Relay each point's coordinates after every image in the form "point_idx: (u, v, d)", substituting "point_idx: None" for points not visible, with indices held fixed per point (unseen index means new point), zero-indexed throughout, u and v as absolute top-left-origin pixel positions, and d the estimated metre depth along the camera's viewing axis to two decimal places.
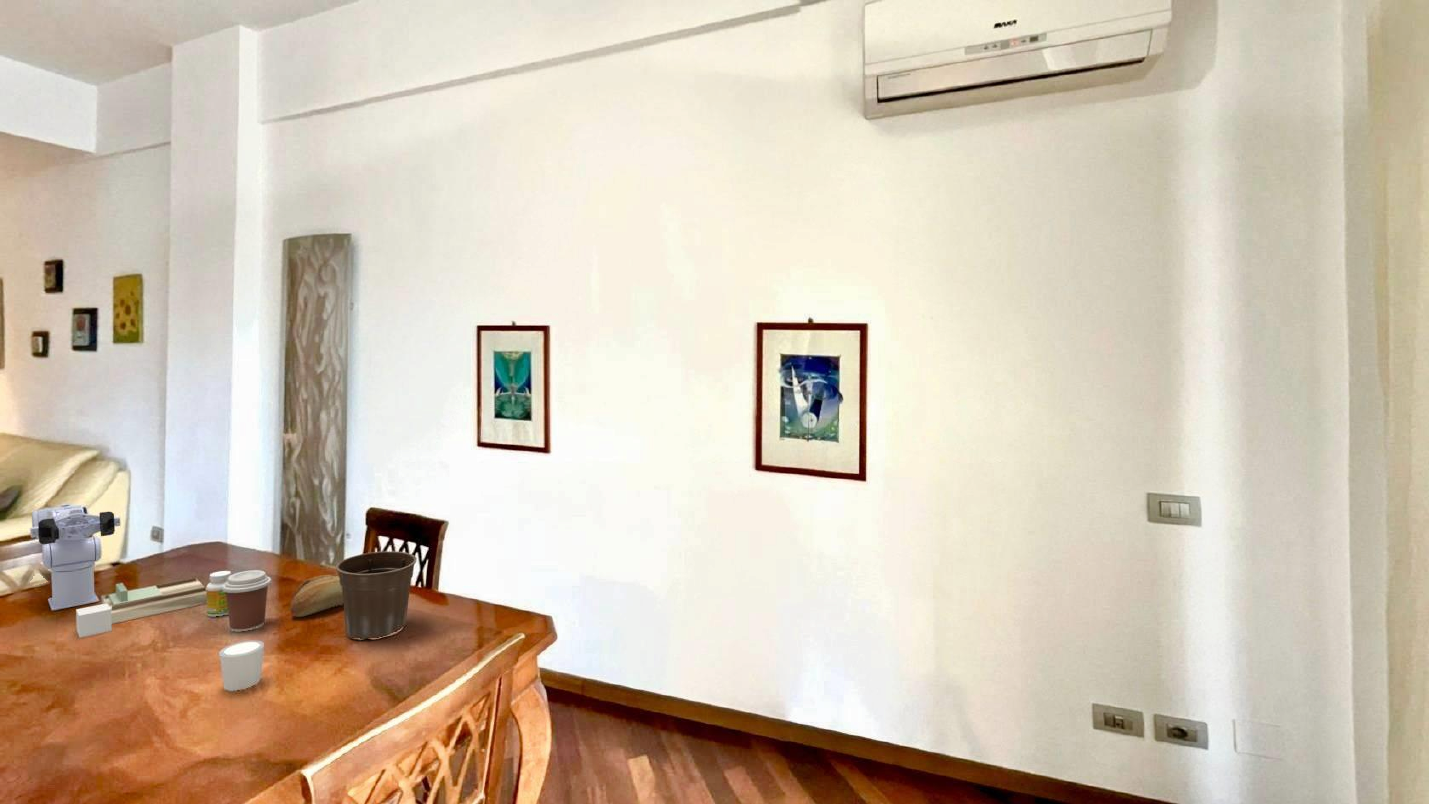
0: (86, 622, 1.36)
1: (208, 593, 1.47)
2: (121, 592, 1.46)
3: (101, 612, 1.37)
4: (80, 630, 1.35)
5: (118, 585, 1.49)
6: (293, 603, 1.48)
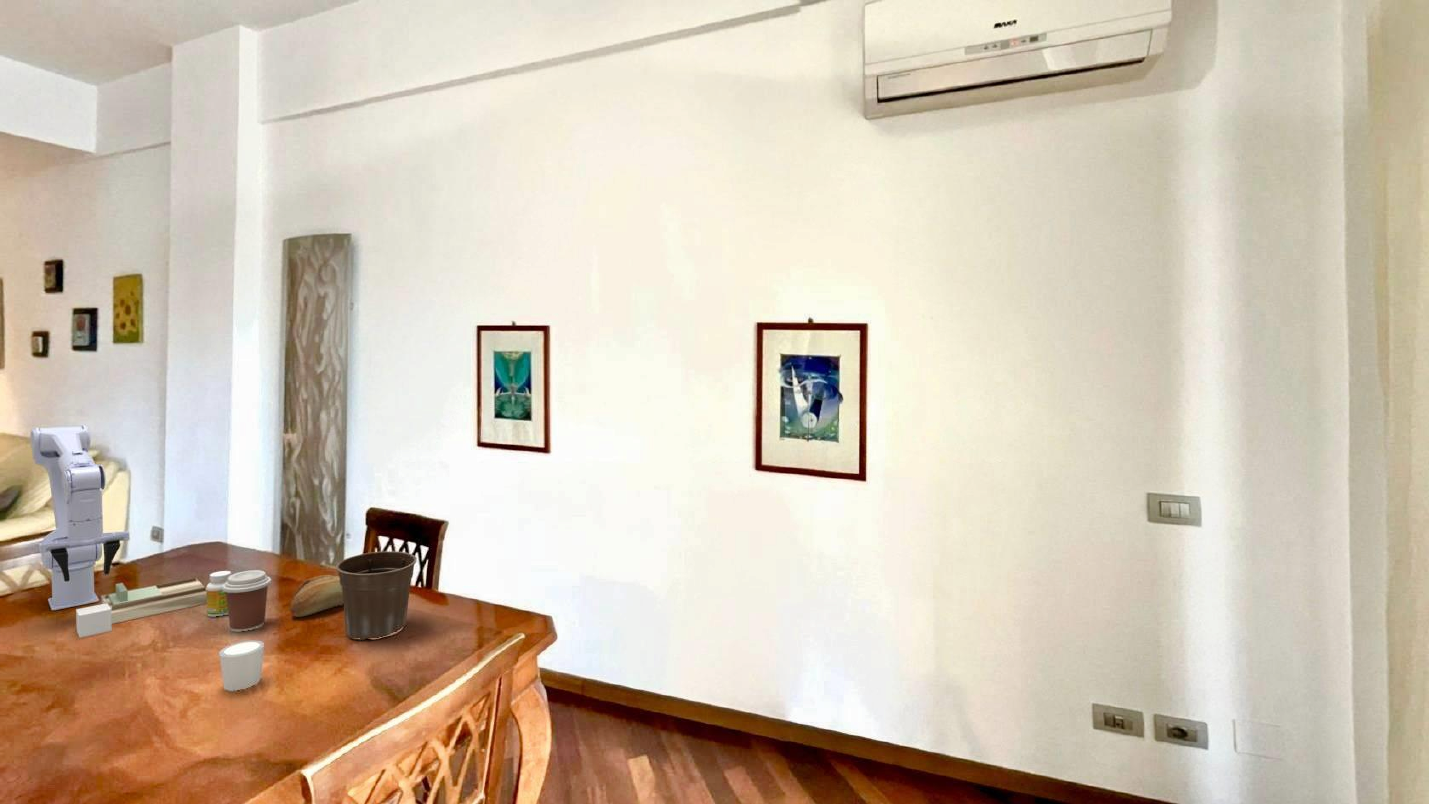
0: (86, 622, 1.36)
1: (208, 593, 1.47)
2: (121, 592, 1.46)
3: (101, 612, 1.37)
4: (80, 630, 1.35)
5: (118, 585, 1.49)
6: (293, 603, 1.48)
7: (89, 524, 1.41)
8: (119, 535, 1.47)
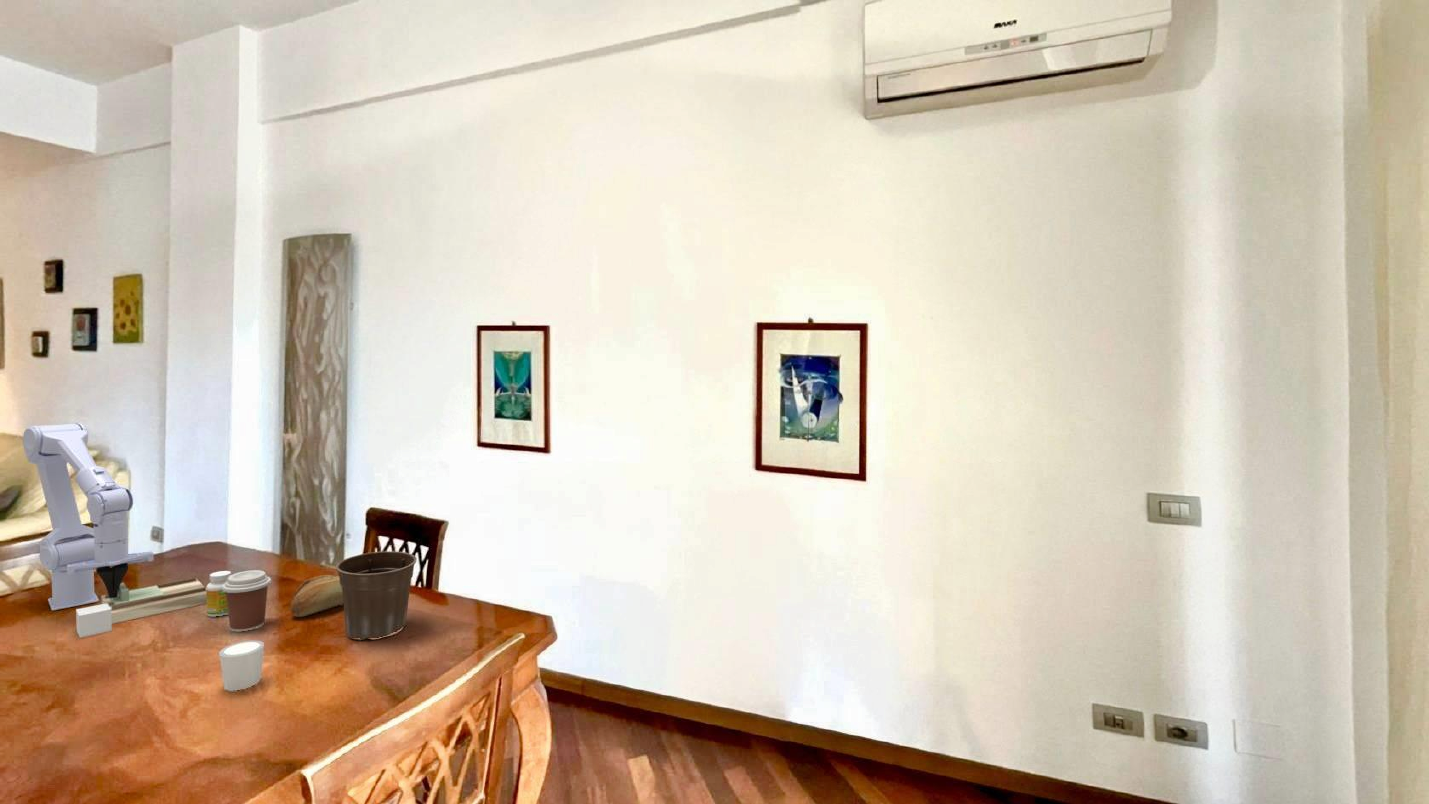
0: (87, 622, 1.36)
1: (208, 593, 1.47)
2: (122, 592, 1.46)
3: (101, 612, 1.37)
4: (80, 630, 1.35)
5: None
6: (293, 603, 1.48)
7: (115, 546, 1.45)
8: (144, 555, 1.50)
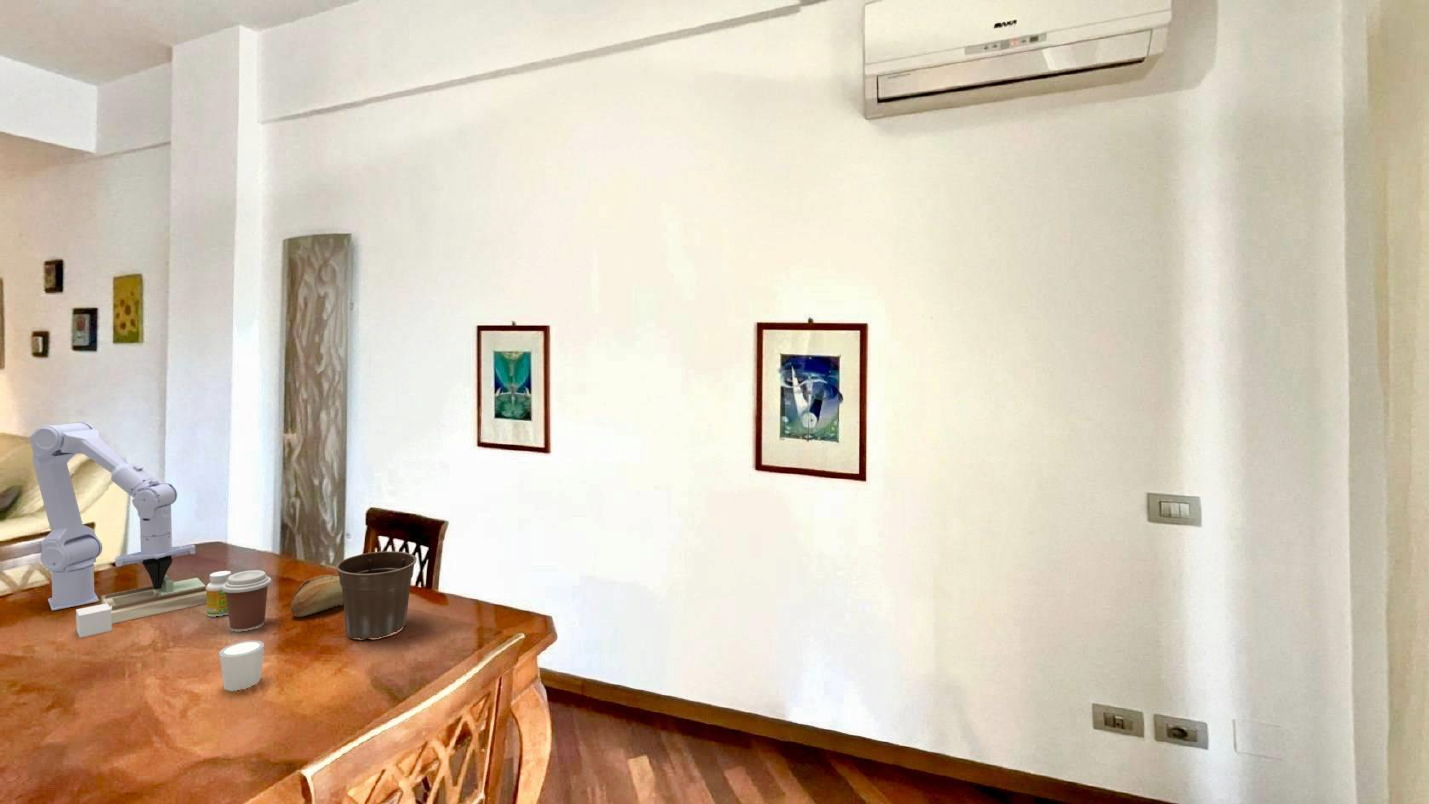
0: (86, 622, 1.36)
1: (208, 593, 1.47)
2: (167, 583, 1.52)
3: (101, 612, 1.37)
4: (80, 630, 1.35)
5: None
6: (293, 603, 1.48)
7: (160, 539, 1.51)
8: (186, 548, 1.56)
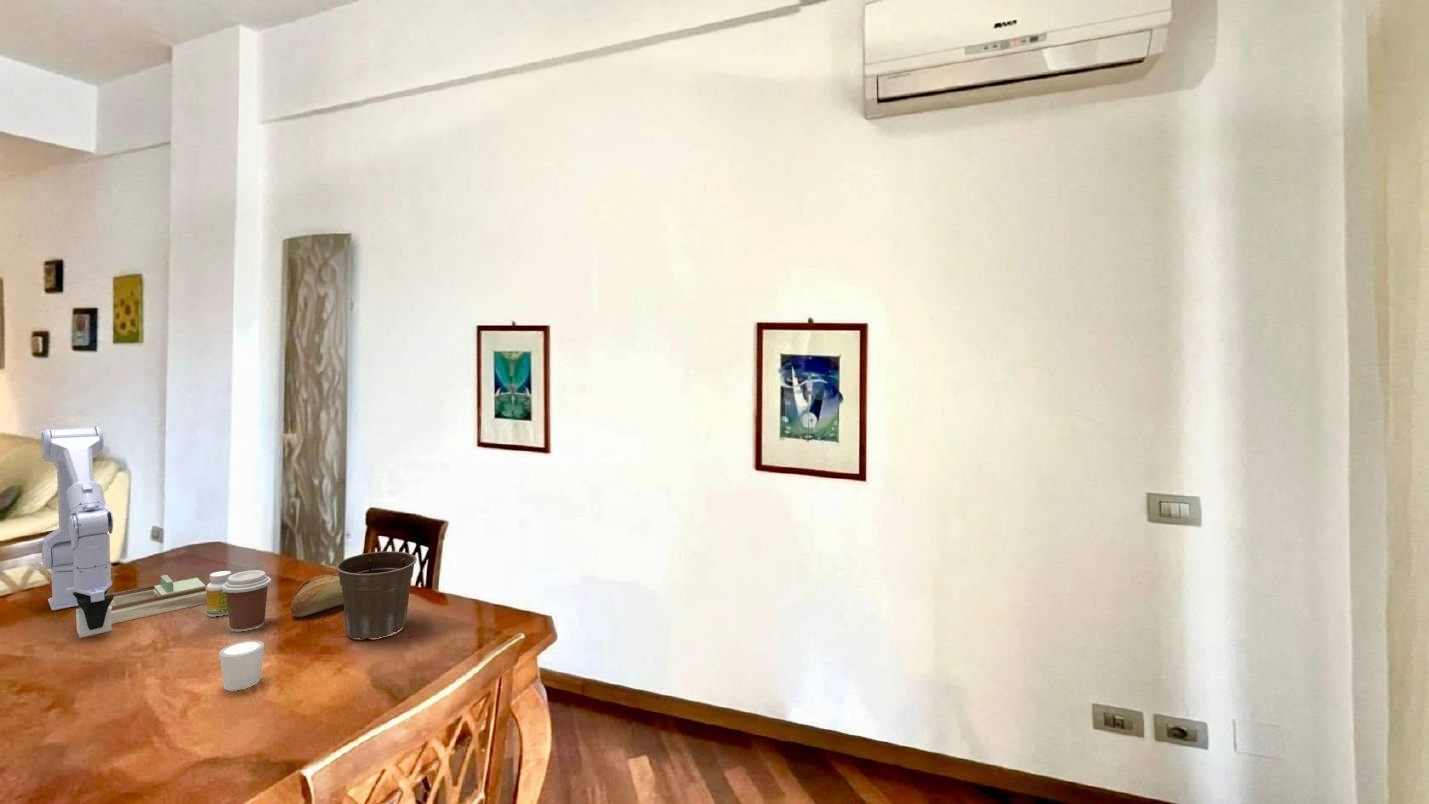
0: (86, 622, 1.36)
1: (208, 593, 1.47)
2: (167, 583, 1.52)
3: None
4: (80, 630, 1.35)
5: (163, 577, 1.56)
6: (293, 603, 1.48)
7: (74, 571, 1.35)
8: (88, 593, 1.33)
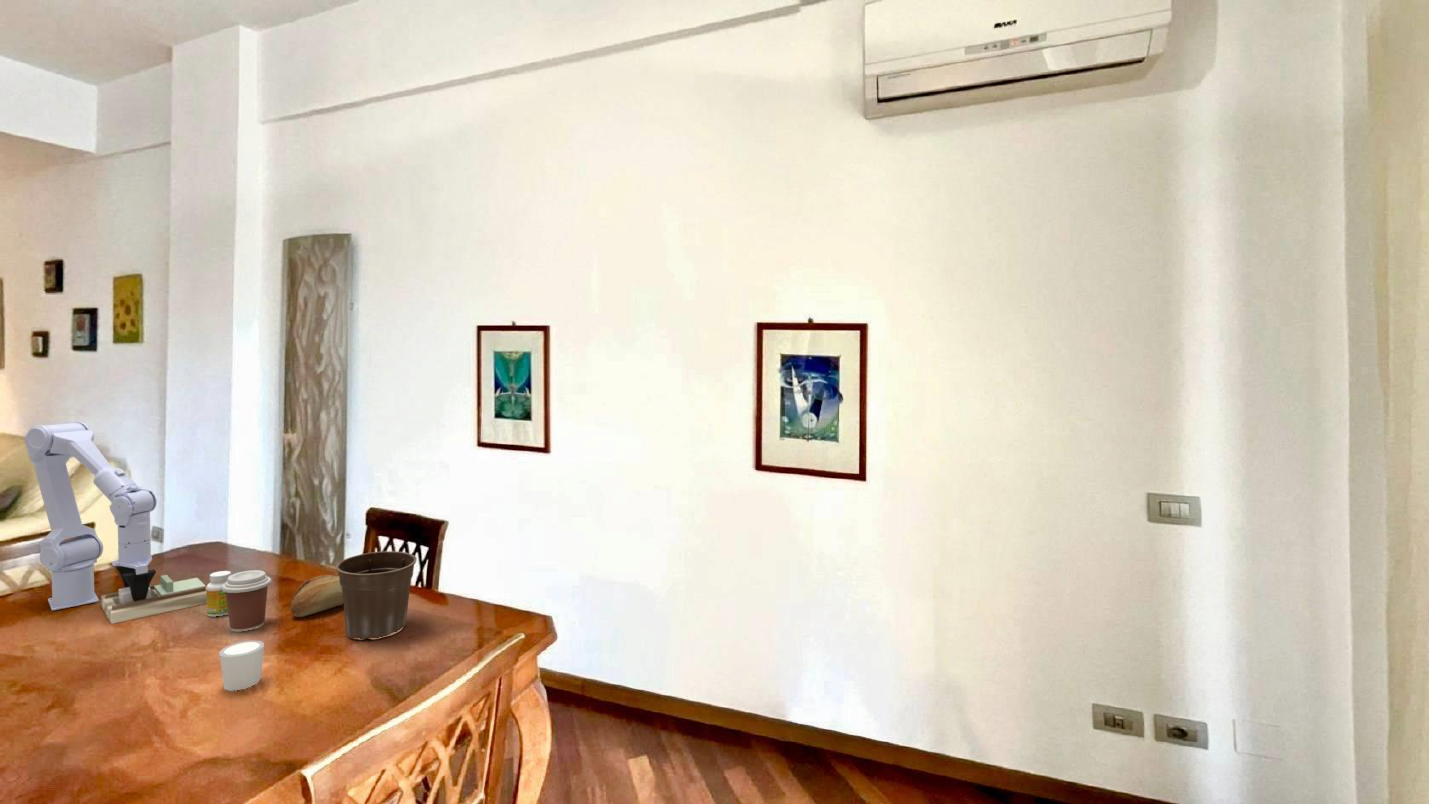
0: (129, 600, 1.48)
1: (208, 593, 1.47)
2: (167, 583, 1.52)
3: None
4: None
5: (163, 577, 1.56)
6: (293, 603, 1.48)
7: (119, 547, 1.47)
8: (133, 566, 1.46)
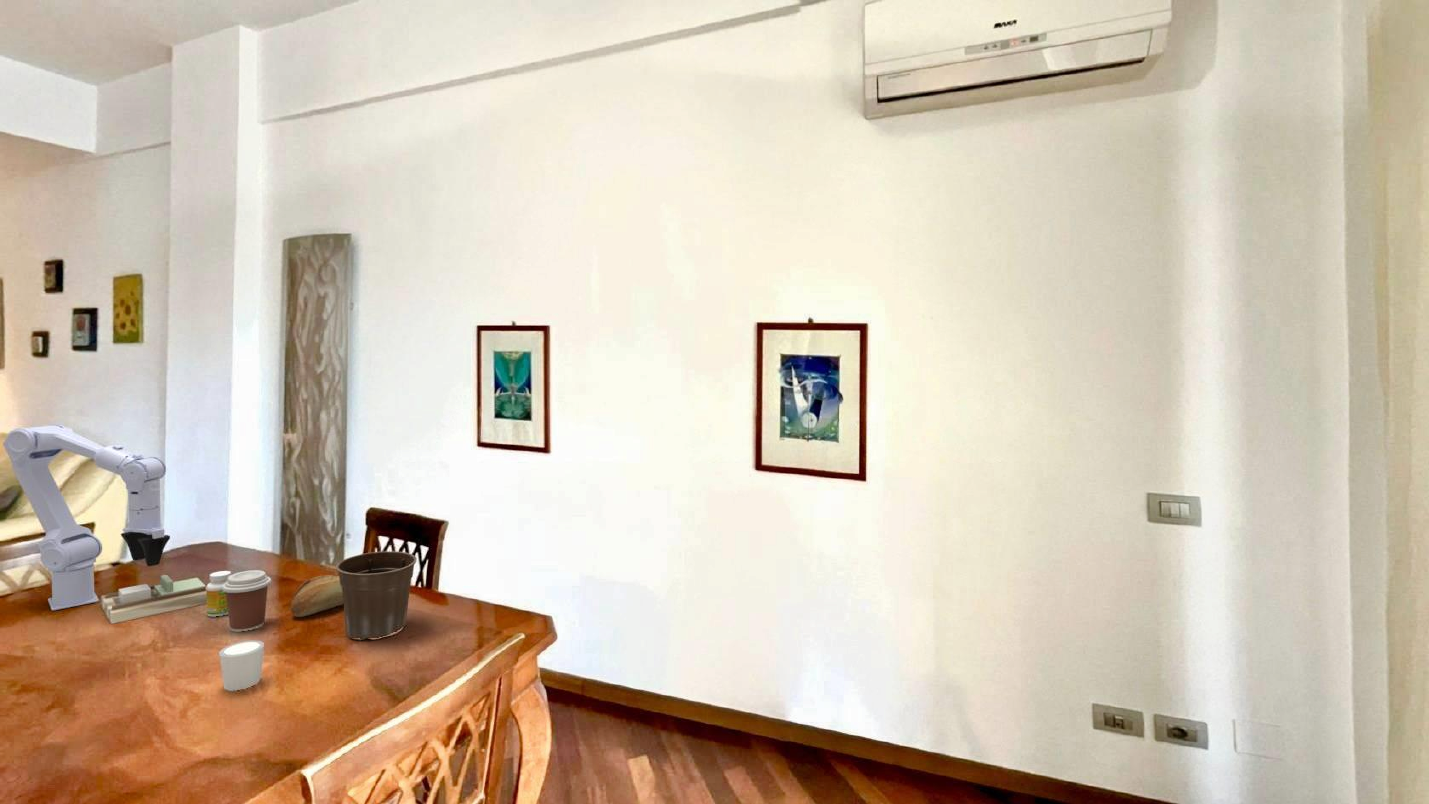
0: (129, 600, 1.48)
1: (208, 593, 1.47)
2: (167, 583, 1.52)
3: (142, 592, 1.50)
4: None
5: (163, 577, 1.56)
6: (293, 603, 1.48)
7: (130, 513, 1.50)
8: (149, 531, 1.49)
